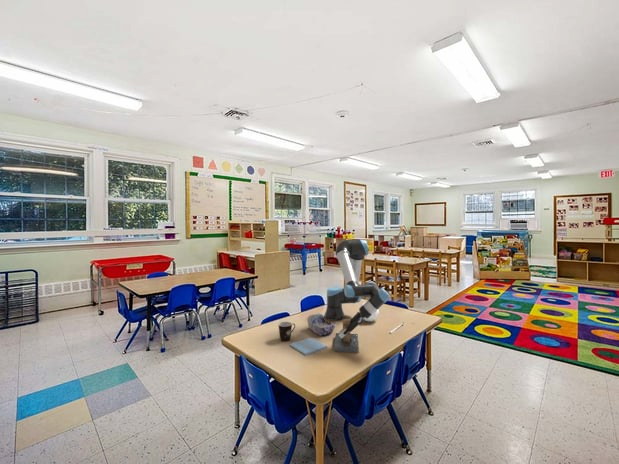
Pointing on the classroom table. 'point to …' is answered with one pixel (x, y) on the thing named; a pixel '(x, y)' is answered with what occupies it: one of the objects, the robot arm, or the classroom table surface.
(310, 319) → the cell model
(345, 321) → the walnut peg
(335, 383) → the classroom table surface
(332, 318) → the robot arm
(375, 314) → the geometric sphere
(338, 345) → the socket block
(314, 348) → the blue board
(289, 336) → the coffee mug
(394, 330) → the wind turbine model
